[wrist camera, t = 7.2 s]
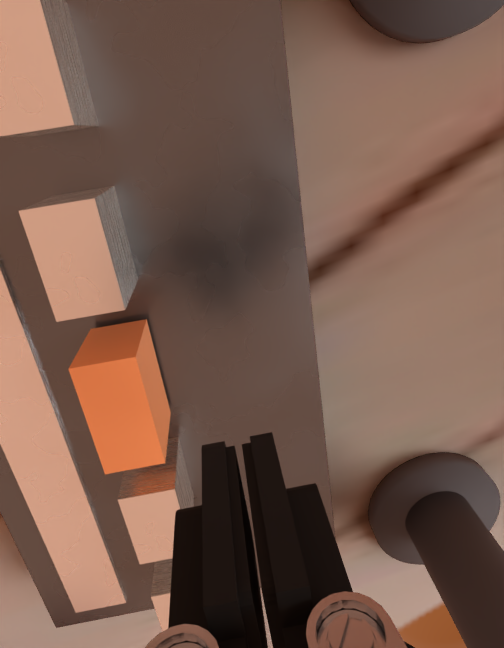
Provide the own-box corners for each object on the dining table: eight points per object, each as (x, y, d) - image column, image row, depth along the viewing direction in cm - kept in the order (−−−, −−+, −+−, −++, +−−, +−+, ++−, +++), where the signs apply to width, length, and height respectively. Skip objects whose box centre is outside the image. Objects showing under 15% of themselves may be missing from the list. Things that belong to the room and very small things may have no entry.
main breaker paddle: (146, 319, 16) (135, 357, 14) (170, 412, 18) (165, 463, 15) (90, 329, 16) (68, 368, 14) (119, 421, 18) (105, 474, 15)
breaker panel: (258, -51, 15) (290, -153, 10) (323, 524, 26) (357, 632, 20) (-170, 12, 15) (-388, -58, 9) (72, 573, 25) (35, 697, 20)
